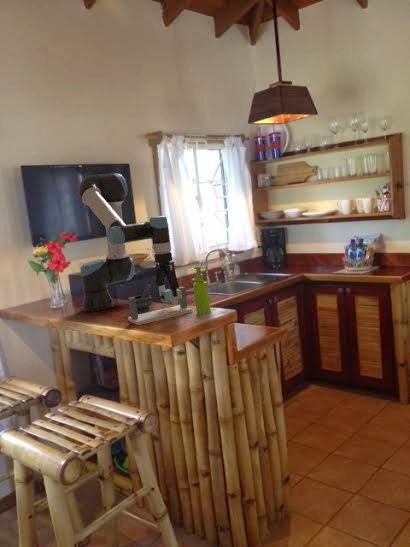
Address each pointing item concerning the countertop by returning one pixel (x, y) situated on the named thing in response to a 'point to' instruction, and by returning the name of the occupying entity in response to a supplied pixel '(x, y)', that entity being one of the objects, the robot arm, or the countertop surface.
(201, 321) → the countertop surface
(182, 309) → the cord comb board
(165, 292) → the marker sleeve
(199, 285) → the soap dispenser
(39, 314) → the countertop surface
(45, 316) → the countertop surface
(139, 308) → the mortar and pestle
